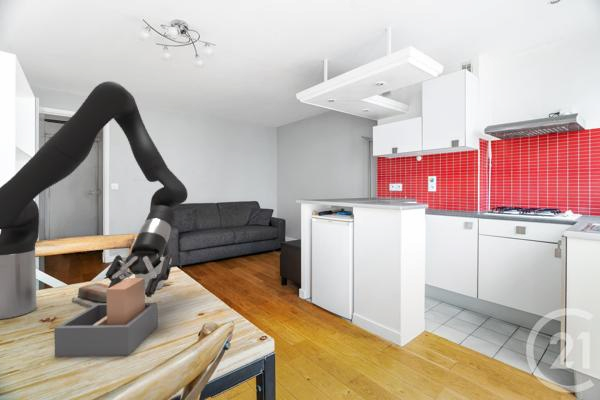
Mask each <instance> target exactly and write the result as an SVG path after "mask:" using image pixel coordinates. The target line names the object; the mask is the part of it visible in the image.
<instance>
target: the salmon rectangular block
mask: <svg viewBox="0 0 600 400" xmlns="http://www.w3.org/2000/svg"><path fill="white" fill-rule="evenodd" d="M145 291H146V290H145V278H135V277H128V278H125V279H124V280H123V281H122V282H120V283H118V284H116V285H114V286H112V287H110V288H108V289H106V292H107V325H127V324H128V323H129V322H130V321H132V320H133V319H134V318H135V317H137V316H138V315H139V314H140V313H142V312H143V311H144V310H145V303H146V295H145Z"/></svg>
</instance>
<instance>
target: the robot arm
mask: <svg viewBox="0 0 600 400" xmlns="http://www.w3.org/2000/svg"><path fill="white" fill-rule="evenodd" d="M112 120H114V121H115V122H116V124H118V125H117V126H119V127H120V129H121V130H122V132H123V133H124V135H125V136H126V139H127V141H128V143H129V145H130V149H131V153H132V155H133V157H134V159H135V162H136V164H137V165H138V167H139V168H140V170H141V172H142V174H143V175H144V177H145V179H146V180H147V181H148V182H150V183H156V182H159V183H160V184H161V185H162V187H160V188H159V189H157V190H156V191H155V192H154V193H153V195H152V197H151V199H150V207H149V213H148V215H147V217H146V220H145V221H144V224H142V226H141V228H140V230H139V232H138V234H137V236H136V239H135V241H134V243H133V245H132V247H131V250H130V251H131V252H130V254H129V255H128V256H123V257H122V256H121V255H120V254H117V255H116V256H115V257H114V259H113V260H112V263H111V264H110V266H109V268H108V270H107V271H106V273H105V276H106V277H107V279H109V280H110V283H109V284H108V285H109V287H108V288H110V287H112V286H114V285H116V284H118V283H120V282H122V281H124V280H126V279H128V278H131V277H132V276H133V275H135V274H147V273H150V275H151V277H152V279H150V280H149V283H148V286H147V288H146V290H145V297H147V298H152V295H155V293H156V291H157V289H156V288H157V285H158V283H159V282H160V281H162V280H164V282H166V281H167V280H169V276H170V274H171V270H172V266H173V263H174V262H173V259H172V257H171V256H170V254H166V255H165V256H164V253H165V249H166V247H167V245H168V242H169V240H170V235H171V230H172V228H173V225H174V222H175V218H176V212H175V211H174V209H173V208H175V207H178V206H179V205H181V204H183V203H184V202H186V201H187V199H188V190H187V189H188V188H187V187H186V186H185V185H184V183H183V181H181V180H180V178H178V177H177V176H176V175H175V174H174V173H173V172H172V171H171V170H170V168H169V167H168V165H167V164H166V162H165V160H164V158H163V157H162V155H161V153H160V151H159V149H158V147H157V146H156V144H155V143H154V141H153V139H152V138H151V136H150V134H149V132H148V130H147V128H146V125H145V123H144V120H143V119H142V116H141V113H140V111H139V107H138V105H137V102H136V99H135V98H134V96H133V94H132V93H131V92H129V90H128V89H126V88H125V87H124V86H123V85H121V84H120V83H118V82H115V81H111V80H109V81H103V82H101V83H99V84H98V85H96V86H95V87H94V88H93V89H92V91H90V93H89V94H88V96H87V97H86V99H85V100H84V101H83V103H82V104H81V105H80V107H79V108H78V109H77V110H76V111H75V112H74V114H73V115H72V116H71V117H70V118H69V119H68V120H67V121H66V122H65V123H64V124H63V125H62V126H61V127H60V128H59V129H58V130H57V131H56V132H55V133H54V134H53V135H52V136H51V137H50V138H49V139H48V140H47V141H46V142H45V143H44V144H43V145H42V146H41V147H40V149H38V150H37V151H36V153H35V154H34V155H33V156H32V157H30V159H29V160H28V161H27V162H26V163H25V164H24V165H23V166H22V167H21V168H20V169H19V170H18V171H17V172H16V173H15V174H14V175H13V176H12V177H11V178H10V179H9V180H8V181H6V182H5V183H4V184H3V185H2V186H0V320H2V319H3V320H4V319H9V318H10V319H11V318H15V317H19V316H24V315H25V314H29V313H31V312H33V311H35V310H37V267H36V266H37V263H36V244H37V241H38V239H39V233H40V232H39V230H40V210H39V206H38V204H37V202H36V201H35V198H36V197H37V196H38V195H40V194H42V193H43V192H44V191H45V190H47V189H49V188H50V187H52V186H54V185H56V184H58V183H59V182H61V181H62V180H64V179H66V178H67V177H69V176H70V175H72V174H73V172H75V171H76V169H78V167H79V166H80V165H81V164H82V163H83V162H84V161H85V160H86V159H87V158H88V156H89V155H90V152H91V150H92V148H93V146H94V143H95V141H96V138H97V137H98V135H99V133H100V132H101V131H102V129H103V128H104V127H105V126H106V125H107V124H109V122H111V121H112ZM162 255H163V257H162ZM161 262H162V264H163V265H162V269H161V272H160V274H157V272H156V270H155V268H156V267H157V266H158V265H159V264H160V263H161ZM128 270H129V271H128Z"/></svg>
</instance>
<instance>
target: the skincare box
mask: <svg viewBox="0 0 600 400" xmlns="http://www.w3.org/2000/svg"><path fill="white" fill-rule="evenodd" d="M162 257H164V254H163V255H162ZM162 265H163V264H162V262H161V263H160V264H159V265H158V266H157V267H156V268H155V270H156V272H157V274H160V272H161V269H162ZM134 275H135V276H134V278H145V291H146V288H147V286H148V283H149V280H150V279H152V277H151V275H150V273H147V274H134ZM165 282H166V281H164V280H162V281H160V282H159V283H158V285H157V288H156V290H160V289H162V287H164V285H165Z"/></svg>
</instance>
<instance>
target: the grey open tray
mask: <svg viewBox="0 0 600 400" xmlns="http://www.w3.org/2000/svg"><path fill="white" fill-rule="evenodd" d="M158 304H159V303H158V302H145V310H144V311H143V312H142V313H140V314H139V315H138V316H137V317H135V318H134V319H133V320H132V321H130V322H129V323H128V324H127V325H107V303H97V304H96V305H94V306H92V307H90V308H87V309H85V310H84V311H82V312H80V313H78V314H77V315H75V316H73V317H71V318H69V319H68V320H66V321H64V322H63V323H61V324H59V325H57V326H56V327H54V329H53V335H54V340H53V341H54V357H56V358H57V357H58V358H62V357H63V358H64V357H67V358H69V357H70V358H71V357H115V356H116V357H120V356H121V357H122V356H124V357H125V356H130V355H131V354H132V353H133V352H134V351H135V349H136V348H138V347H139V346H140V345H141V344H142V343H143V341H145V340H146V338H148V337H149V336H150V335H151V334H152V332H154V331H155V329H157V328H158V326H159V316H158V315H159V313H158V310H159V308H158V306H159V305H158Z"/></svg>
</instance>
